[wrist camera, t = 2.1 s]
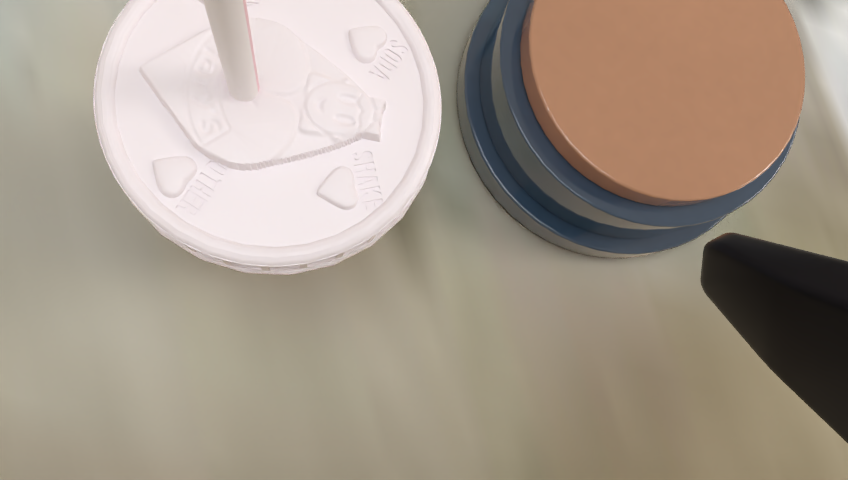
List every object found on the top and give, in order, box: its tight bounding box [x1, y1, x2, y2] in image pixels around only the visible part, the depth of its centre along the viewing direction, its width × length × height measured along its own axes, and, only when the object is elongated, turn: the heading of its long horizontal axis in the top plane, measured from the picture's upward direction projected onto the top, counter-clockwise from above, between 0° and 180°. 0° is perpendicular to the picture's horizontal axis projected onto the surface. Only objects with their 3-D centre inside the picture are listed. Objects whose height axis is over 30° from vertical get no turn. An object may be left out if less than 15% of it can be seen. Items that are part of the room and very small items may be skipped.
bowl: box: [457, 0, 805, 258], centre depth 22 cm, size 11×11×4 cm
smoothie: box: [93, 0, 441, 275], centre depth 15 cm, size 6×6×14 cm
